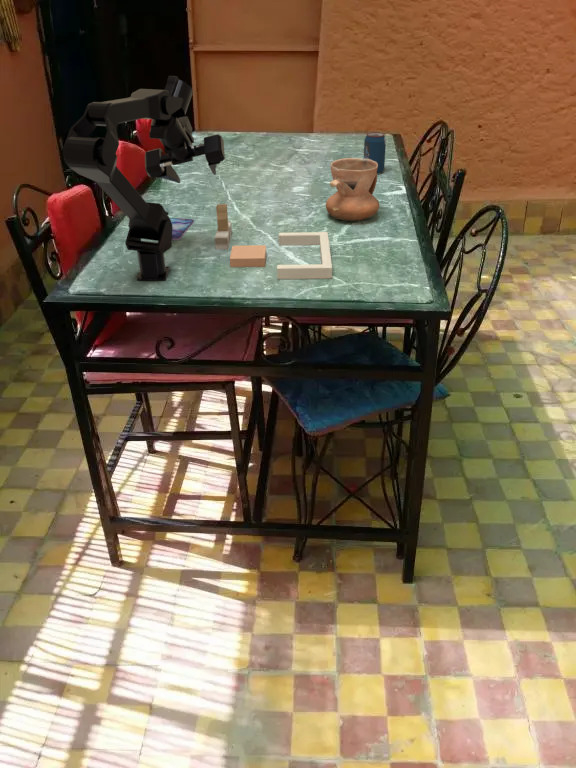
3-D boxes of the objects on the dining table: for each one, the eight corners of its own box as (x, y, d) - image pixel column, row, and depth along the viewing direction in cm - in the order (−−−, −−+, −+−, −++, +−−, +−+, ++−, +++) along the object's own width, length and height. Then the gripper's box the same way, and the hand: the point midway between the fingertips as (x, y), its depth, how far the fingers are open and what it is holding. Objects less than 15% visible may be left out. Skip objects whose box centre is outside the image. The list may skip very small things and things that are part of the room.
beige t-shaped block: (228, 249, 155) (225, 213, 150) (215, 249, 156) (212, 213, 151) (231, 232, 165) (229, 198, 160) (220, 232, 165) (217, 198, 161)
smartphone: (195, 219, 173) (178, 239, 160) (195, 222, 173) (178, 242, 161) (169, 217, 174) (150, 237, 161) (169, 220, 174) (150, 240, 162)
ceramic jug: (350, 230, 165) (353, 175, 157) (311, 217, 173) (311, 164, 166) (394, 214, 175) (399, 161, 167) (355, 202, 184) (357, 152, 176)
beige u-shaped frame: (327, 241, 158) (327, 232, 157) (331, 278, 140) (332, 267, 139) (279, 242, 158) (279, 232, 157) (277, 279, 140) (277, 268, 139)
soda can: (386, 170, 211) (389, 132, 204) (380, 175, 206) (382, 137, 199) (366, 168, 213) (368, 130, 207) (360, 173, 208) (361, 135, 202)
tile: (265, 268, 146) (264, 258, 145) (230, 268, 146) (229, 258, 145) (266, 255, 153) (265, 245, 152) (233, 255, 153) (232, 245, 152)
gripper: (210, 96, 141) (231, 141, 156) (132, 115, 145) (160, 158, 159) (213, 136, 138) (234, 179, 152) (133, 156, 141) (162, 196, 156)
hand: (197, 177), depth 155 cm, fingers open, 9 cm apart
